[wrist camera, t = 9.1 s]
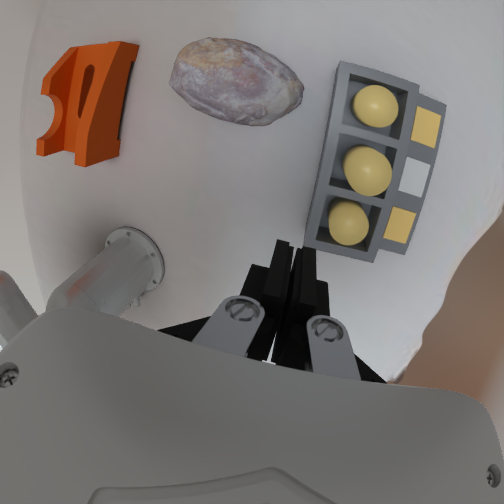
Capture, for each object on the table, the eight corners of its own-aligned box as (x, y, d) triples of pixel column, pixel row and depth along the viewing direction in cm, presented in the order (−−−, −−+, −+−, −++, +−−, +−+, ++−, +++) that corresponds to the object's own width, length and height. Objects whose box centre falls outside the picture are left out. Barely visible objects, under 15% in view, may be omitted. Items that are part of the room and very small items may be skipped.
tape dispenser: (120, 155, 39) (85, 167, 32) (70, 144, 40) (36, 154, 33) (140, 45, 30) (105, 38, 23) (84, 48, 31) (49, 46, 24)
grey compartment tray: (366, 243, 37) (373, 262, 32) (305, 229, 38) (303, 246, 34) (405, 89, 26) (419, 85, 22) (336, 69, 28) (340, 60, 23)
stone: (302, 106, 36) (322, 55, 26) (277, 155, 33) (295, 101, 24) (197, 70, 36) (196, 19, 26) (160, 111, 33) (149, 57, 24)
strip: (403, 253, 36) (405, 256, 36) (373, 245, 37) (374, 248, 36) (444, 105, 26) (447, 105, 25) (412, 91, 26) (414, 91, 26)
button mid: (375, 188, 30) (385, 201, 25) (338, 178, 30) (341, 189, 26) (385, 150, 27) (396, 157, 23) (346, 140, 28) (352, 144, 24)
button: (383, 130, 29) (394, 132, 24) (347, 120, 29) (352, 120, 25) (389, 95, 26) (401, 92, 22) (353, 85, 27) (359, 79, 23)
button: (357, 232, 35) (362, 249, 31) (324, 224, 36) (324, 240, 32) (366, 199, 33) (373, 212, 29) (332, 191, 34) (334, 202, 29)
